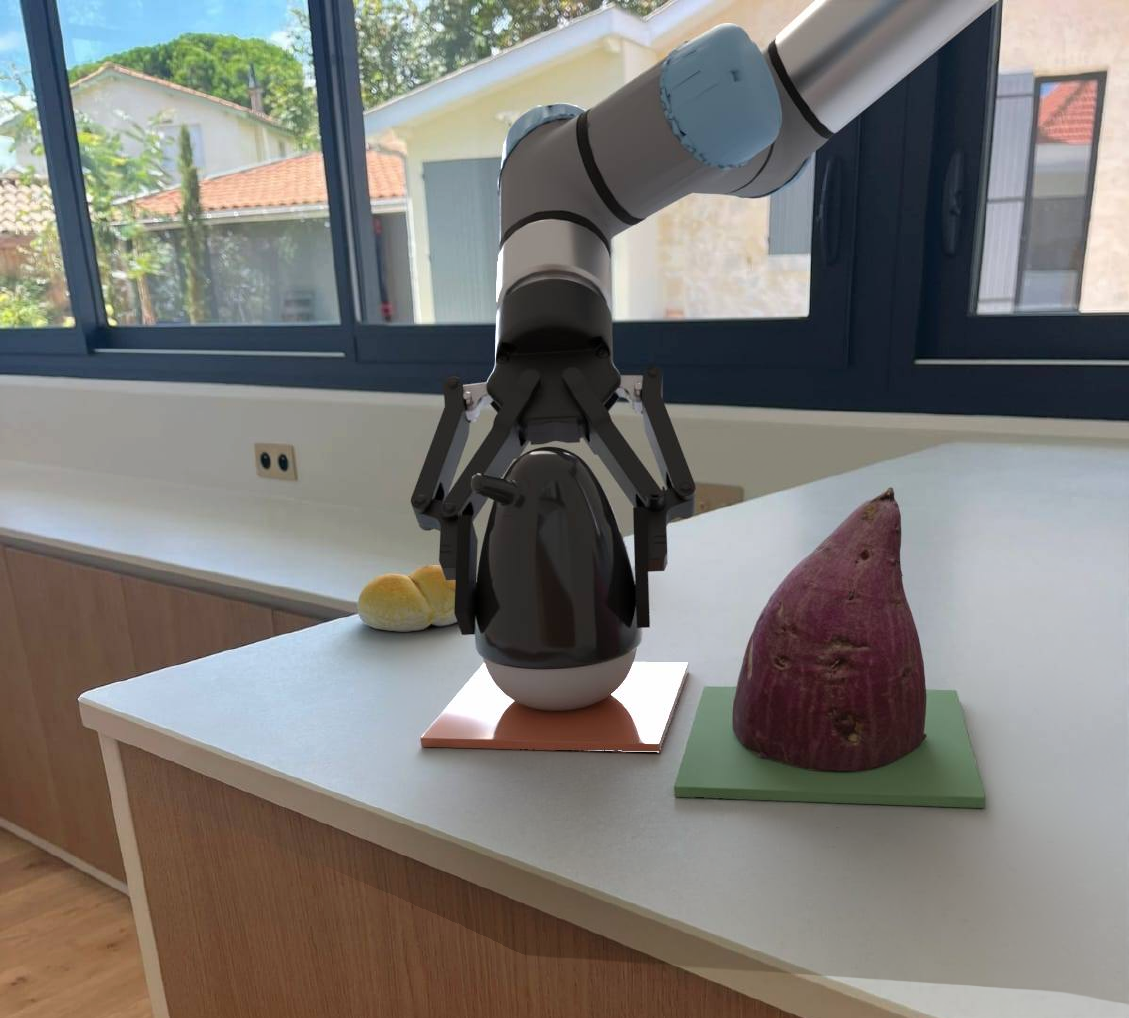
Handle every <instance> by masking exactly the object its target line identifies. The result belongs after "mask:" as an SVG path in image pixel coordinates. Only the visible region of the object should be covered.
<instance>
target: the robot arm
mask: <svg viewBox="0 0 1129 1018" xmlns="http://www.w3.org/2000/svg"><path fill="white" fill-rule="evenodd" d="M998 1H999V0H814V1H813V2H812V3H811V4H810V5H809V6H808V7H807V8H806V9H805V10H803V11H802V12H801V13H800V14H799V15H798V16H797V17H796V18H795V19H794V20H792V21H791V22H790V23H789V24H788V25H787V26H786V27H785V28H784V29H783V30H782V31H781V32H779V34H777V35H776V37H775V38H774V39H773V40H771V42H769V43H768V45H766V46H764V47H763V49H762V50H760V48H759V46H758V45H757V43H756V42H755V41H754V40H752V39H751V38H750V36H749V33H747V31H746V30H745V29H744V28H743V27H741V26H739V25H738V24H735V23H731V22H723V23H720V24H717V25H715V26H714V27H712V28H710V29H709V30H707V31H705V32H703V33H701V34H700V35H698V36H696V37H694V38H693V39H691V40H686V41H684V42H681V43H680V44H678V45H676V47H675V48H674V49H672V50H671V51H669V53H668V54H667V55H666V56H665V57H664V58H663V59H661V60H659V61H657V62H656V63H654V64H653V65H652V66H650V67H649V68H647V69H646V70H645V71H643V72H641V73H640V74H639V75H638V76H635V77H634V78H633V79H632V80H630V81H628V82H627V83H625V84H624V85H623V86H620V88H618V89H617V90H616V91H614V92H612V93H611V94H610V95H608V96H607V97H605V98H604V99H602V100H601V101H599V102H598V103H597V104H595V105H593V106H592V107H591V108H589V109H587V110H585V109H584V108H582V107H580V106H578V105H575V104H572V103H568V102H556V103H554V104H549V105H543V106H542V105H540V104H539V105H536V106H534V107H532V108H530V109H528V110H526V111H525V112H524V113H522V114H521V115H520V116H519V117H518V118H517V119H516V120H515V121H514V122H513V124H512V125H511V126H510V128H509V130H508V132H507V134H506V136H505V139H504V143H503V148H502V156H501V164H500V169H499V175H498V176H497V196H498V211H499V212H498V214H499V217H498V218H499V246H498V247H499V248H498V261H497V269H496V270H497V271H496V273H497V274H496V275H497V276H496V317H495V318H496V319H495V349H494V350H495V352H494V353H495V354H494V367H493V370H492V372H491V373H490V375H489V377H488V378H487V381H484V382H476V383H470V384H464V383H463V380H462V379H461V378H460V377H459V376H453V375H452V376H448V377H447V378H446V379H444V381H443V399H444V400H443V402H444V408H443V410H442V413H441V416H440V418H439V421H438V424H437V427H436V430H435V432H434V435H433V437H432V440H431V442H430V445H429V449H428V452H427V454H426V457H425V459H424V462H423V464H422V467H421V470H420V473H419V475H418V479H417V481H416V484H415V487H414V489H413V492H412V494H411V497H410V504H411V507H412V510H413V513H414V516H415V518H416V522H417V523H418V527H419V528H420V529H421V530H422V531H425V532H427V531H428V532H429V531H432V530H437V531H439V551H438V552H439V553H438V562H439V566H441V568H442V571H443V574H444V576H445V578H446V580H456V582H455V607H454V614H455V616H456V619H457V622H456V623H457V625H458V628H459V630H460V634H461V635H462V636H469V635H470V636H471V635H473V636H475V593H476V581H477V573H478V548H479V547H478V544H479V543H478V542H479V539H478V536H477V533H476V530H475V526H474V521H475V519H476V518H477V516H478V515H479V514H480V512H481V510H482V508H483V507H484V506H485V504H486V502H487V501H488V500H489V498H487V497H484V496H482V495H480V494H477V493H475V492H473V491H472V489H471V480H472V478H473V477H474V476H475V475H476V474H482V475H487V476H492V477H496V478H501V479H503V478H504V476H505V474H506V472H507V471H508V469H509V467H510V466H511V465H512V464H513V462H514V461H515V460H517V459H518V458H519V457H520V456H522V455H523V452H524V451H525V449H526V447H528V444H529V443H530V446H535V445H538V446H539V445H546V444H549V443H552V442H560V443H567V444H574V443H575V444H578V443H581V439H583V441H584V442H585V443H586V445H587V446H588V448H589V450H591V452H592V454H593V455H595V456H596V455H597V456H598V457H599V459H600V460H601V462H602V464H603V465H604V466H605V468H606V469H607V471H608V472H609V473H610V475H611V477H612V478H613V479H614V480H615V482H616V483H617V485H618V486H619V488H620V490H621V491H622V493H624V495H625V496H626V498H627V499H628V501H629V502H630V503H631V505H632V518H633V520H632V521H633V552H634V553H633V556H634V578H635V593H636V618H637V628H642V629H646V628H650V627H651V623H650V622H651V620H650V619H651V617H650V616H651V615H650V590H649V589H650V587H649V586H650V585H649V584H650V583H649V573H651V572H665V571H666V569H667V566H668V536H667V535H668V532H667V531H668V529H667V527H668V524H669V523H671V521H673V520H676V519H677V518H679V519H682V520H686V519H687V520H688V519H690V518H692V517H693V516H694V514H695V512H696V483H695V481H694V477H693V474H692V473H691V469H690V467H689V464H688V462H687V460H686V456H685V454H684V452H683V449H682V446H681V444H680V441H679V439H678V436H677V433H676V430H675V428H674V426H673V423H672V420H671V417H670V414H669V412H668V410H667V407H666V404H665V402H664V398H663V397H664V396H663V395H664V394H663V393H664V392H663V391H664V390H663V389H664V388H663V387H664V386H663V385H664V384H663V383H664V382H663V381H664V380H663V379H664V378H663V375H664V374H663V373H664V372H663V370H662V368H661V367H660V366H658V365H653V364H652V365H648V366H646V367H645V368H644V369H643V372H642V374H621V373H620V371H619V369H618V368H617V367H616V366H615V364H614V347H613V346H614V345H613V318H612V311H613V309H612V308H613V307H612V259H611V258H612V240H613V238H615V237H616V236H617V235H620V234H621V233H623V232H625V231H627V230H628V229H630V228H632V227H633V226H636V225H638V224H639V223H641V222H643V221H645V220H646V219H647V218H649V217H651V216H652V215H655V214H656V213H658V212H659V211H662V210H663V209H664V208H667V207H668V206H670V205H673V204H674V203H675V202H678V201H679V200H681V199H683V198H684V197H687V196H689V195H691V194H699V195H700V194H701V195H723V196H732V197H737V198H740V199H751V200H752V199H761V198H766V197H769V196H772V195H774V194H777V193H780V192H782V191H784V190H786V189H788V188H789V187H791V186H792V185H794V184H795V183H796V182H797V181H799V179H800V178H801V177H802V175H803V174H804V173H805V171H806V169H807V168H808V166H809V164H810V162H811V161H812V158H813V155H814V153H815V152H816V151H818V150H819V149H820V148H821V147H822V146H824V145H825V144H826V143H827V142H828V141H829V140H830V139H832V137H834V135H836V134H837V133H838V132H839V131H841V129H843V128H844V127H845V126H847V125H848V124H849V123H850V122H851V121H853V120H854V119H855V118H856V117H858V116H859V115H860V114H862V113H863V111H865V110H866V109H867V108H869V107H870V106H871V105H872V104H874V103H875V102H876V101H877V100H879V99H880V98H881V97H882V96H883V95H885V94H886V93H887V92H888V91H890V90H891V89H892V88H894V86H896V85H897V84H898V83H899V82H901V81H902V80H903V79H904V78H905V77H907V76H908V75H909V74H910V73H912V72H913V71H914V70H916V68H917V67H919V66H920V65H921V64H923V63H924V62H925V61H926V60H927V59H929V58H930V57H931V56H933V55H934V54H935V53H936V52H937V51H939V49H941V48H942V47H944V46H945V45H946V44H947V43H948V42H949V41H951V40H952V39H953V38H955V37H956V36H957V35H958V34H959V33H960V32H962V31H963V30H964V29H965V28H967V27H968V26H969V25H970V24H971V23H973V22H974V21H975V20H977V18H979V17H981V16H982V15H983V13H985V12H986V11H987V10H988V9H990V8H991V7H992V6H994V5H995V4H996V3H997V2H998ZM621 398H623V399H625V400H627V401H628V402H629V406H630V408H631V410H633V411H634V412H635V414H636V415H642V424H643V428H644V429H643V430H644V432H645V435H646V438H647V440H648V442H649V446H650V448H651V451H652V453H653V457H654V459H655V462H656V465H657V468H658V469H659V473H660V475H661V478H662V482H663V484H664V485H663V486H662V488H661V487H660V486H659V485H658V483H657V482H656V480H655V478H654V477H653V476H652V475H651V473H650V472H649V470H648V469H647V467H646V466H645V465H644V463H643V462H642V460H641V459H640V458H639V456H638V455H637V454H636V453H635V451H634V450H633V448H632V447H631V446H630V444H629V443H628V441H627V440H626V439H625V437H624V436H623V434H622V433H621V432H620V430H619V429H618V427H617V426H616V425H615V423H614V422H613V420H612V417H611V414H610V411H611V410H612V408H613V407H614V406H615V404H616V403H618V401H619V399H621ZM487 405H490V406H491V408H492V409H494V411H495V412H496V415H495V417H494V419H493V422H492V427H491V429H490V430H489V432H488V433H487V435H486V436H485V438H484V440H483V441H482V442H481V444H480V445H479V447H478V449H477V450H476V452H475V453H474V455H473V456H472V458H471V459H470V461H469V462H468V463H467V465H466V466H465V468H464V470H463V471H462V473H461V474H460V476H459V477H458V478H457V480H456V482H455V483H454V485H453V486H452V484H453V482H454V479H455V476H456V473H457V470H458V467H459V464H460V461H461V460H462V456H463V453H464V450H465V448H466V444H467V442H468V439H469V436H470V428H471V426H470V425H471V424H475V423H476V422H477V421H478V418H479V416H480V414H481V410H482V409H483V408H484V406H487ZM451 486H452V487H451Z"/></svg>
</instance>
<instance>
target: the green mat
mask: <svg viewBox="0 0 1129 1018" xmlns="http://www.w3.org/2000/svg"><path fill="white" fill-rule="evenodd" d="M736 688H737V686H716V685H715V686H710V685H705V686H703V690H702V692H701V696H700V700H699V704H698V707H697V710H696V713H695V716H694V720H693V723H692V727H691V730H690V733H689V736H688V740H687V743H686V747H685V750H684V753H683V756H682V759H681V763H680V767H679V769H678V774H677V776H676V780H675V782H674V786H673V790H674V791H673V793H674V795H673V796H674V798H691V799H692V798H695V797H704V798H703V799H719V798H722V800H723V799H724V800H747V801H749V800H750V801H752V800H753V801H774V802H775V801H778V802H779V801H780V802H800V803H801V802H802V803H803V802H805V803H829V804H830V803H832V804H833V803H835V804H856V805H857V804H858V805H859V804H860V805H882V806H883V805H886V806H910V807H911V806H914V807H942V808H966V809H967V808H968V809H985V807H986V795H985V794H986V793H985V792H984V787H983V783H982V781H981V776H980V772H979V769H978V766H977V765H978V764H977V761H976V758H975V754H974V751H973V747H972V742H971V740H970V736H969V732H968V728H967V724H966V721H965V718H964V714H963V711H962V706H961V703H960V699H959V695H958V692H957V690H956V689H926V696H927V700H926V716H925V728H924V733H925V734H926V736H927V737H926V738H925V739H924V740H923V741H922V742H921V745H920V746H919V747H918V748H917V749H915V750H914V751H912V752H910V753H908V754H906V755H904V756H902V757H901V758H898V759H897V760H894V761H893V762H890V763H888V764H886V765H883V766H879V767H876V768H872V769H868V770H863V771H850V772H846V771H842V772H836V771H821V770H810V769H806V768H802V767H797V766H793V765H789V764H787V763H782V762H779V761H776V760H772V759H769V758H762V757H760V756H759V754H757V753H755V752H753V751H751V750H749V749H748V748H746V747H745V746H744V745H743V744H741V742H740V740H739V739H738V738H737V737H736V735H735V733H734V731H733V725H732V715H733V701H734V697H735V693H736ZM681 796H682V797H681Z"/></svg>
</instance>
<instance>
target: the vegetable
mask: <svg viewBox="0 0 1129 1018" xmlns="http://www.w3.org/2000/svg"><path fill="white" fill-rule="evenodd" d="M900 510H901V509H900V505H899V503H898V502H897V500H896V498H895V491H894V487H889V488H887V489H886V490H885V491H883V492H881V493H880V494H879V495H878V496H875V497H874V498H871V499H869V500H866V501H864V502H861V504H860V505H859V506H857V508H855V509H854V510H853V511H852V512H851V513H850V514H849V515H848V516H847V517H846V518H845V519H844V520H843V521H842V522H841V523H840V524H839V525H838V526H837V527H836V528H835V529H834V530H833V531H832V532H831V533H830V534H829V535H828V536H827V537H826V538H824V540H822V542H821V543H820V544H819V545H818V546H817V547H816V548H815V549H814V550H812V552H811V553H810V554H808V555H807V556H806V557H804V558H803V559H802V560H800V562H799V563H798V564H796V565H795V566H794V567H793V569H792V570H791V571H790V572H789V573H788V574H787V575H786V576H785V578H784V579H783V580H782V581H781V583H779V585H778V586H777V588H776V589H775V590H774V591H773V593H772V594H771V596H770V597H769V599H768V601H767V602H766V605H765V606H764V607H763V609H762V611H761V612H760V614H759V616H758V618H757V620H756V622H755V625H754V628H753V630H752V632H751V635H750V637H749V639H748V641H747V644H746V648H745V651H744V655H743V658H742V662H741V667H740V671H739V674H738V679H737V684H736V687H737V688H736V693H735V697H734V701H733V715H732V725H733V731H734V733H735V735H736V737H737V738H738V739H739V740H740V742H741V744H743V745H744V746H745V747H746V748H748V749H749V750H751V751H753V752H755V753H757V754H759V756H760V757H762V758H769V759H772V760H776V761H779V762H782V763H787V764H789V765H793V766H797V767H802V768H806V769H810V770H821V771H836V772H842V771H846V772H850V771H863V770H868V769H872V768H876V767H879V766H883V765H886V764H888V763H890V762H893V761H894V760H897V759H898V758H901V757H902V756H904V755H906V754H908V753H910V752H912V751H914V750H915V749H917V748H918V747H919V746H920V745H921V742H922V741H923V740H924V739H925V738H926V737H927V736H926V734H925V733H924V728H925V716H926V700H927V696H926V690H927V686H926V674H925V664H924V657H923V652H922V646H921V642H920V636H919V633H918V629H917V626H916V623H915V619H914V617H913V613H912V610H911V607H910V604H909V602H908V599H907V595H906V592H905V588H904V582H903V577H904V574H903V572H902V566H901V565H902V564H901V549H902V548H901V547H902V515H901V511H900Z"/></svg>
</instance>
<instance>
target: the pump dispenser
mask: <svg viewBox="0 0 1129 1018" xmlns="http://www.w3.org/2000/svg"><path fill="white" fill-rule="evenodd" d="M471 489H472V491H473V492H475V493H477V494H480V495H482V496H484V497H487V498H488V500H492V501H493V502H492V503H491V504H492V505H491V507H490V508H491V509H490V511H489V515H488V518H487V522H486V525H485V530H484V534H483V539H482V543H481V548H480V554H479V559H478V565H477V577H476V593H475V635H474V643H475V645H474V646H475V650H476V652H477V653H478V655H479V656H480V657H482V660H483V663H485V666H486V669H487V671H488V673H489V675H490V677H491V678H492V680H493V681H494V683H495V684H496V686H497V687H498V688H499V689H500V690H501V691H502V692H503V693H504V694H505V695H506V696H508V697H509V698H511V699H512V700H514V701H516V702H518V703H520V704H522V705H525V706H528V707H531V708H535V709H539V710H547V711H565V710H574V709H579V708H584V707H587V706H590V705H593V704H595V703H597V702H599V701H601V700H603V699H605V698H607V697H608V696H610V695H611V694H612V693H614V692H615V691H616V690H617V689H618V688H619V687H620V686H621V685H622V683H623V682H624V681H625V679H626V678H627V676H628V674H629V672H630V670H631V668H632V666H633V663H634V662H635V659H636V655H637V650H638V647H639V646H640V644H641V643H642V642H643V641H642V640H643V628H637V618H636V593H635V572H634V570H633V565H632V562H631V558H630V555H629V551H628V547H627V548H626V546H627V544H626V541H625V539H624V535H623V532H622V530H621V527H620V524H619V522H618V519H617V516H616V514H615V512H614V510H613V509H614V508H613V506H612V505H611V502H610V500H609V497H608V496H607V494H606V492H605V490H604V488H603V486H602V484H601V483H600V480H599V479H598V478H597V476H596V474H595V473H594V472H593V470H592V469H591V467H590V466H589V464H588V463H587V462H586V461H585V460H584V459H583V458H582V457H580V456H579V455H577V454H576V453H574V452H572V451H571V450H568V449H566V448H562V447H558V446H541V447H537V448H534V449H531V450H529V451H526V452H525V453H522V454H521V455H520V457H519V458H518V459H514V460H513V461H512V463H511V464H510V466H509V467H508V469H507V470H506V472H505V473H504V475H503V477H502V478H496V477H492V476H487V475H482V474H476V475H475V476H474V477H473V478H472V480H471Z"/></svg>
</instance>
